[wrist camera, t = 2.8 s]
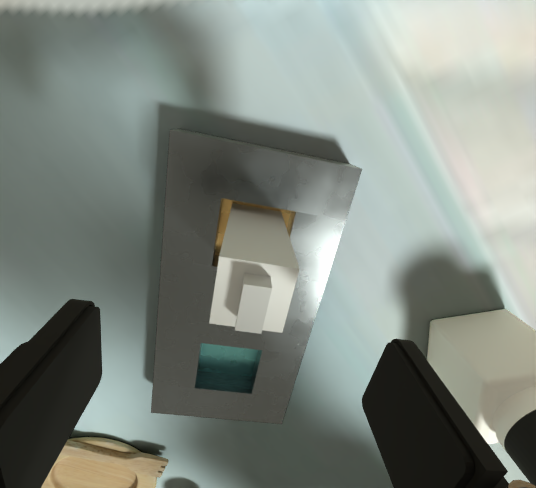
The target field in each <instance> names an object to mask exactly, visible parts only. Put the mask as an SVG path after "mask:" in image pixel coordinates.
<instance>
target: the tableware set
mask: <svg viewBox="0 0 536 488" xmlns="http://www.w3.org/2000/svg"><path fill="white" fill-rule="evenodd" d="M167 464H168V459H165V458H162V457H159V456H155V455H151V454H147V453H142V452H140V451H139V450H137V449H136V448H134V447H132V446H130V445H128V444H125V443H122V442H120V441H116V440H112V439H107V438H98V437H81V438H71V439H68V440H67V442H66V444H65V446H64V447H63V449H62V451H61V453H60V454H59V456H58V458H57V460H56V462H55V463H54V465H53V467H52V469H51V470H50V472H49V474H48V476H47V478H46V479H45V481H44V483H43V485H42V487H41V488H155V487H156V482H157V477H161V475H162V473H163V472H162V471H164V469H165V466H167Z"/></svg>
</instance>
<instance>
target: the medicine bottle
mask: <svg viewBox="0 0 536 488" xmlns="http://www.w3.org/2000/svg"><path fill="white" fill-rule="evenodd" d="M427 361H428V362H429V364H430V365H431V367H432V368H433V369H434V371H435V372H436V373H437V375H438V376H439V378H440V379H441V380H442V382H443V383H444V384H445V386H446V387H447V389H448V390H449V391H450V393H451V394H452V395H453V397H454V398H455V400H456V401H457V402H458V404H459V405H460V406H461V408H462V409H463V411H464V412H465V413H466V415H467V416H468V417H469V419H470V420H471V422H472V423H473V424H474V426H475V427H476V428H477V430H478V431H479V433H480V434H481V435H482V437H483V438H484V439H485V441H486V442H487V444H493V443H500V444H501V445H502V447H503V448H504V449H505V450H506V452H507V453H508V454H509V456H510V457H511V458H512V460H513V461H514V462H515V463H516V465H517V466H518V467H519V469H520V470H521V471H522V472H523V474H524V475H525V476H526V478H527V479H528V480H529V482H530V483H531V484H533V485H535V486H536V331H535V330H534V329H533V328H531V327H530V326H529V325H527V324H526V323H524V322H523V321H522V320H520V319H519V318H518V317H516V316H515V315H514V314H512V313H511V312H509V311H508V310H506V309H501V310H495V311H488V312H481V313H475V314H468V315H462V316H455V317H448V318H442V319H435V320H432V321H431V322H430V330H429V341H428V352H427Z"/></svg>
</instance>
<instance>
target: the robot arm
mask: <svg viewBox="0 0 536 488" xmlns="http://www.w3.org/2000/svg"><path fill="white" fill-rule="evenodd" d="M101 376H102V354H101V325H100V309H99V307H95V305H94V303H93V302H92V301H84V300H76V299H71V300H69V301H68V302H67V303H66V304H65V305H64V306H63V307H62V308H61V309H60V310H59V311H58V312H57V313H56V314H55V315H54V316H53V317H52V318H51V319H50V320H49V321H48V322H47V323H46V324H45V325H44V326H43V327H42V328H41V329H40V330H39V331H38V332H37V333H36V334H35V335H34V336H33V337H32V338H31V339H30V340H29V341H28V342H25V343H23V344H21V345H20V346H19V347H17V348H16V349H15V350H14V351H13V352H12V353H11V354H10V355H9V356H8V357H7V358H6V359H5V360H4V361H3V362H2V363H1V364H0V488H41V487H42V485H43V483H44V481H45V479H46V478H47V476H48V474H49V472H50V470H51V469H52V467H53V465H54V463H55V462H56V460H57V458H58V456H59V454H60V453H61V451H62V449H63V447H64V446H65V444H66V442H67V440H68V438H69V437H70V435H71V433H72V431H73V429H74V428H75V426H76V424H77V422H78V421H79V419H80V417H81V415H82V413H83V412H84V410H85V408H86V406H87V405H88V403H89V401H90V399H91V397H92V396H93V394H94V392H95V390H96V388H97V387H98V385H99V383H100V380H101ZM362 406H363V409H364V412H365V415H366V417H367V420H368V422H369V425H370V427H371V430H372V433H373V435H374V438H375V440H376V443H377V445H378V448H379V451H380V453H381V456H382V458H383V461H384V463H385V466H386V469H387V471H388V474H389V476H390V479H391V481H392V484H393V487H394V488H536V486H535V485H533V484H531V483H529V482H526V481H522V480H513V481H512V482H511V483H508V482H507V481H506V479H505V478H504V475H505V474H506V473H507V472H508V471H507V470H506V468H505V467H504V466H503V464H502V463H501V461H500V460H499V459H498V457H497V456H496V455H495V453H494V452H493V450H492V449H491V448H490V446H489V445H488V444H487V442H486V441H485V439H484V438H483V437H482V435H481V434H480V433H479V431H478V430H477V428H476V427H475V426H474V424H473V423H472V422H471V420H470V419H469V417H468V416H467V415H466V413H465V412H464V411H463V409H462V408H461V406H460V405H459V404H458V402H457V401H456V400H455V398H454V397H453V395H452V394H451V393H450V391H449V390H448V389H447V387H446V386H445V384H444V383H443V382H442V380H441V379H440V378H439V376H438V375H437V373H436V372H435V371H434V369H433V368H432V367H431V365H430V364H429V362H428V361H427V360H426V358H425V357H424V355H423V354H422V353H421V351H420V350H419V349H418V347H417V346H416V344H415V343H414V342H412V341H409V340H401V339H394V340H392V341H391V343H388V344H387V345H386V347H385V349H384V352H383V354H382V356H381V358H380V360H379V362H378V365H377V367H376V369H375V371H374V373H373V375H372V377H371V380H370V382H369V384H368V386H367V388H366V390H365V393H364V395H363V398H362Z"/></svg>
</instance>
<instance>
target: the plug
mask: <svg viewBox="0 0 536 488" xmlns="http://www.w3.org/2000/svg"><path fill="white" fill-rule="evenodd" d="M298 273H299V266H298V262H297V259H296V256H295V253H294V250H293V247H292V244H291V241H290V238H289V235H288V231H287V228H286V225H285V222H284V219H283V216H282V213H281V212H280V211H275V210H269V209H263V208H258V207H252V206H247V205H241V204H236V203H232V206H231V210H230V214H229V218H228V222H227V226H226V231H225V235H224V239H223V243H222V247H221V251H220V255H219V261H218V267H217V274H216V281H215V287H214V294H213V301H212V307H211V314H210V321H209V324H217V325H225V326H233V327H235V331H243V332H251V333H259V334H261V333H262V330H264V331H272V332H280V333H282V332H283V329H284V325H285V321H286V317H287V314H288V310H289V306H290V303H291V299H292V295H293V292H294V288H295V284H296V280H297V277H298Z"/></svg>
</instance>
